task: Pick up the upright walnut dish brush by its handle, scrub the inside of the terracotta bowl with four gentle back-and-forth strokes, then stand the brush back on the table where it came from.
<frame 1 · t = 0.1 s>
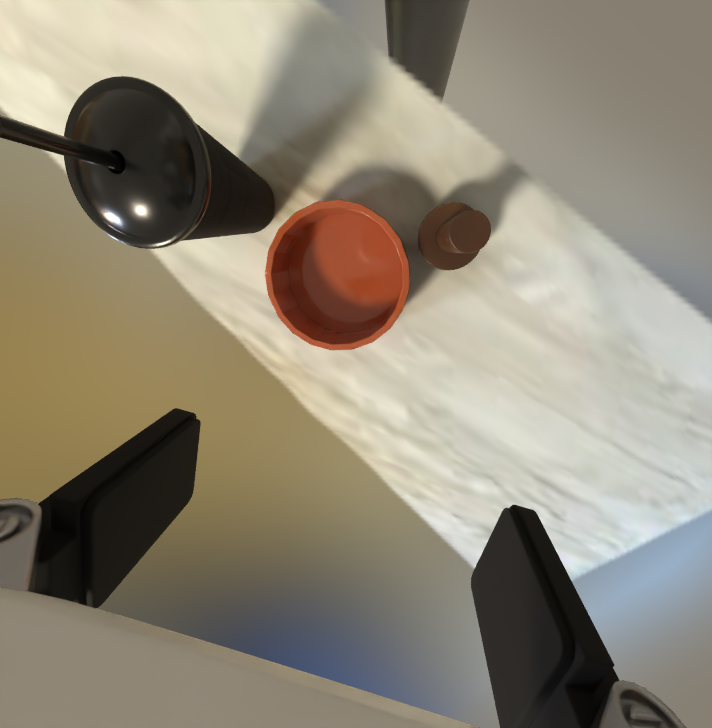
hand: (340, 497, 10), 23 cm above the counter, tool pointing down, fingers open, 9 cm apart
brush: (445, 238, 29), on the counter
drinking cup: (248, 203, 30), on the counter
bowl: (345, 275, 31), on the counter
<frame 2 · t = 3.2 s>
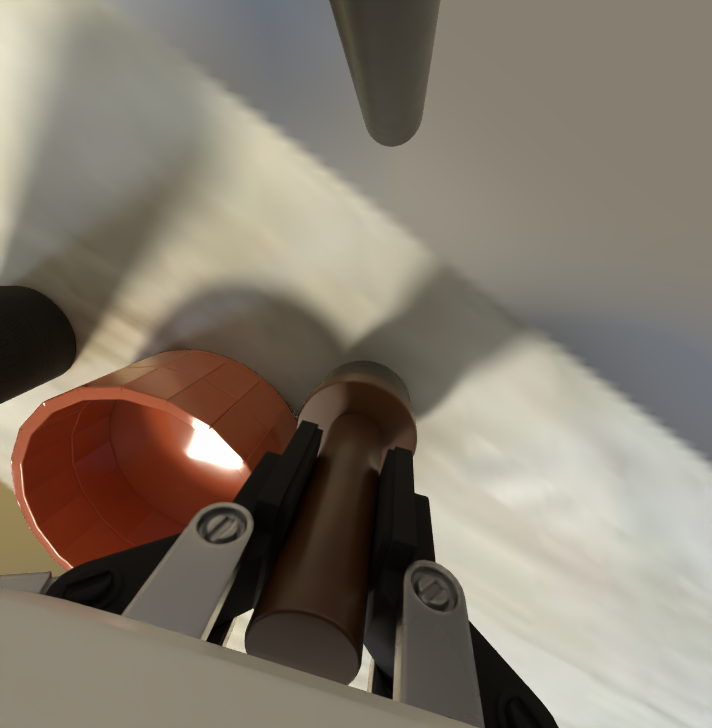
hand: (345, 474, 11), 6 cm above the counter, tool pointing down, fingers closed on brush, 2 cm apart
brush: (363, 404, 17), on the counter, touching gripper
drinking cup: (35, 332, 18), on the counter
bowl: (205, 448, 19), on the counter
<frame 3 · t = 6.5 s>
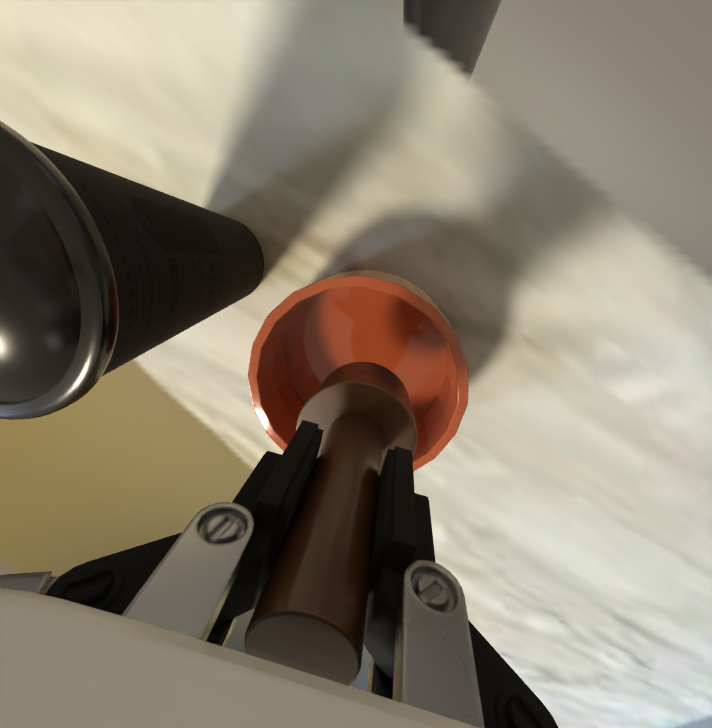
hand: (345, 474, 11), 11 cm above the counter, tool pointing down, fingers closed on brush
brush: (363, 404, 17), point 6 cm above the counter, touching gripper
drinking cup: (227, 259, 21), on the counter
bowl: (364, 359, 22), on the counter
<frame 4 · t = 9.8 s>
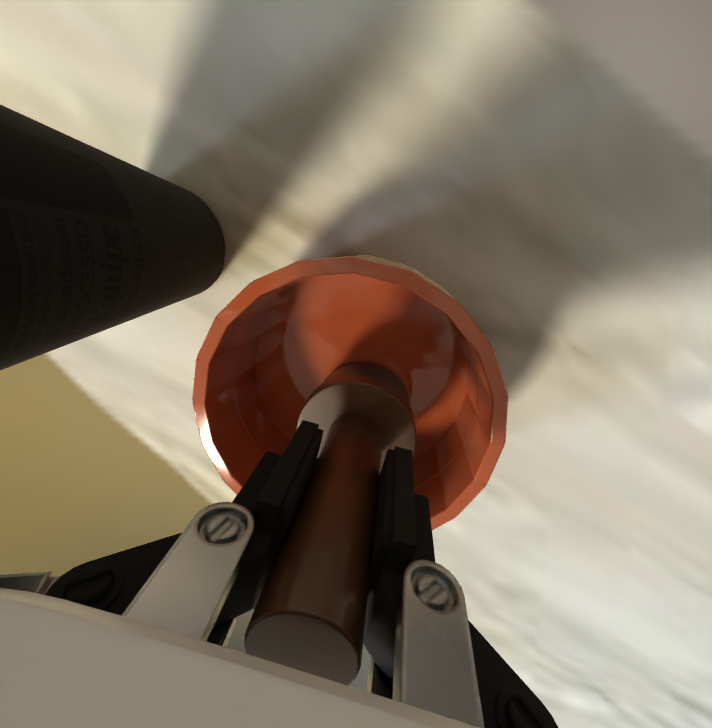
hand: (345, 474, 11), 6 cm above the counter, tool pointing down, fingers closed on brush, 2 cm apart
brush: (363, 405, 17), point 1 cm above the counter, touching gripper
drinking cup: (177, 243, 16), on the counter
bowl: (358, 374, 17), on the counter
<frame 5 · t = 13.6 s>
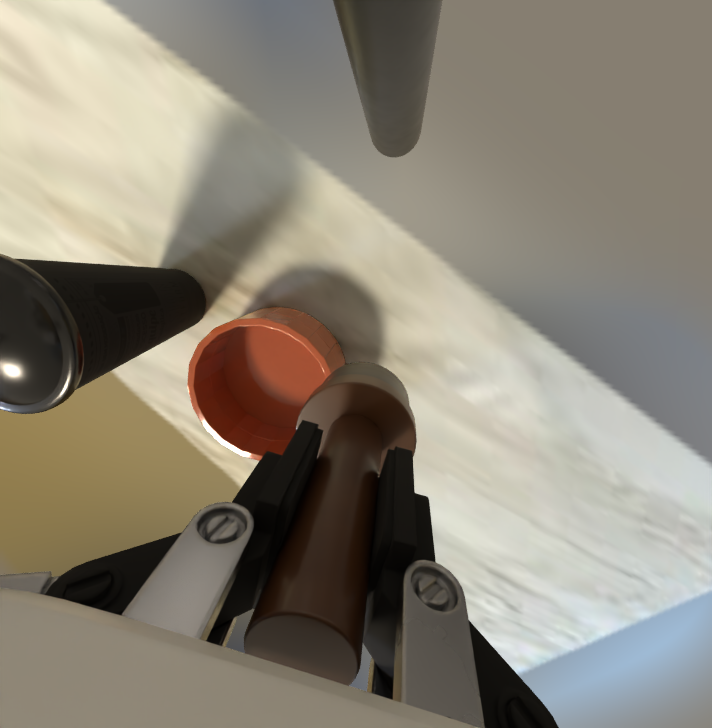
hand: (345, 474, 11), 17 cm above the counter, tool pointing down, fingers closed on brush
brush: (363, 405, 17), point 12 cm above the counter, touching gripper
drinking cup: (179, 298, 29), on the counter
bowl: (283, 371, 30), on the counter
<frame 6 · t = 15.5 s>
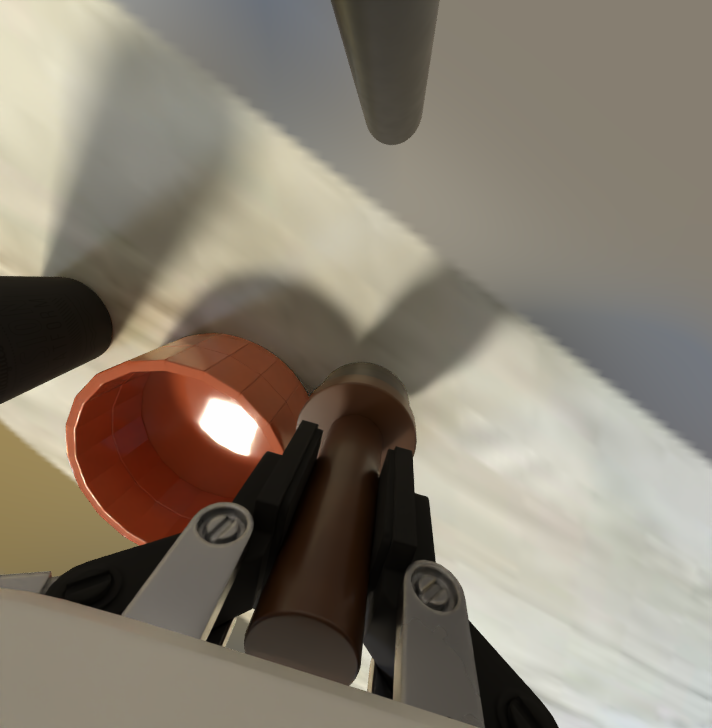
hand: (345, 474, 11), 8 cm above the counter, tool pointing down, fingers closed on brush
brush: (363, 405, 17), point 2 cm above the counter, touching gripper
drinking cup: (75, 319, 20), on the counter
bowl: (226, 422, 21), on the counter
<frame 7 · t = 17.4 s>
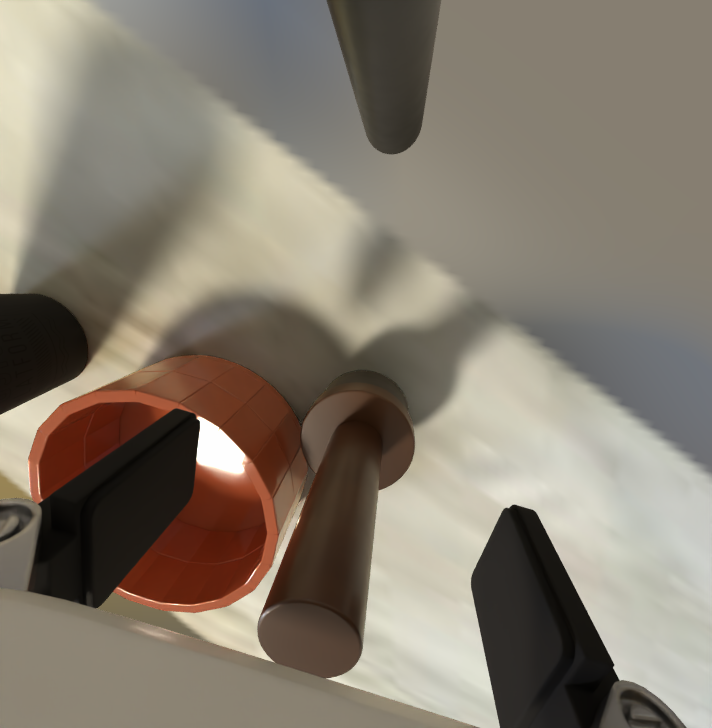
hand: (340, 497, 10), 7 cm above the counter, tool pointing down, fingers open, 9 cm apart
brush: (364, 411, 17), on the counter
drinking cup: (49, 338, 19), on the counter
bowl: (211, 450, 19), on the counter
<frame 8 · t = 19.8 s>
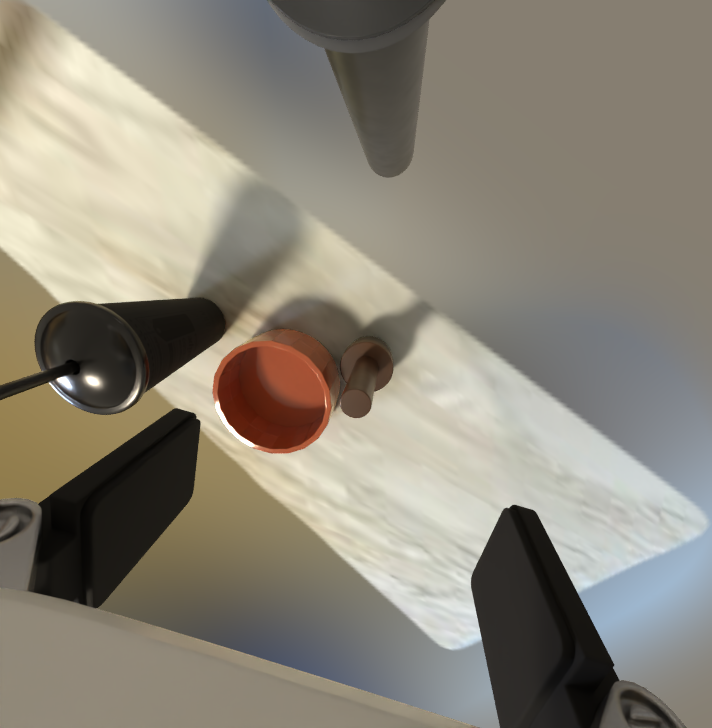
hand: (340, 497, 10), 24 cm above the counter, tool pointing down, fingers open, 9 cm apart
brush: (369, 357, 34), on the counter
drinking cup: (203, 321, 36), on the counter
bowl: (287, 380, 36), on the counter
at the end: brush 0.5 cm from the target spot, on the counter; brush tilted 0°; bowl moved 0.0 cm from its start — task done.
